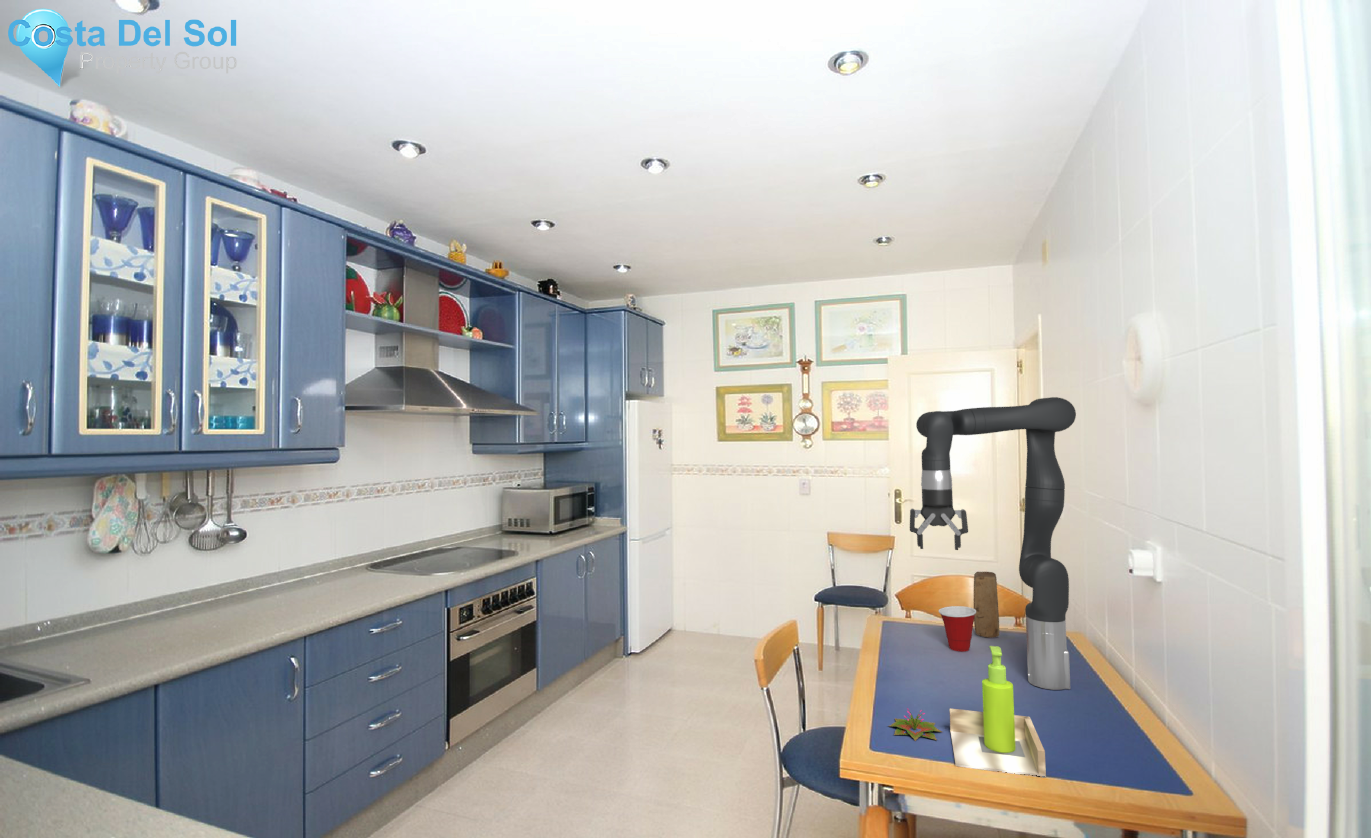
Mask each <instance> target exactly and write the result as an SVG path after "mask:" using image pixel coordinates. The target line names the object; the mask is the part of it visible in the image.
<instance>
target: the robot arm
mask: <svg viewBox="0 0 1371 838" xmlns="http://www.w3.org/2000/svg"><path fill="white" fill-rule="evenodd" d="M1076 414H1077V413H1076V409H1075V406H1074V405H1073V404H1072V402H1070V400H1067V399H1065V398H1063V397H1057V396H1055V397H1054V396H1052V397H1041V398H1036V399H1034V400H1032V401H1031V402H1030V403H1029V404H1023V405H1013V406H1012V405H1011V406H988V407H986V406H983V407H970V408H962V409H958V410H950V411H949V410H946V411H941V410H936V411H934V410H933V411H928V412H924V413H923V414H921V415H920V416H919V417H918V419H917V420H916V430H917V432H918V433H919V434H920V435H921V436H923V437H925V438H926V442H925V443H926V445H925V448H923V450H922V451H921V477H920V478H921V479H920V481H921V482H920V486H921V502H922V503H921V506H922V507H921V509H914V508H910V510H909V532H911V533H914V534H915V535H916V542H917V546H918V548H920V550H924V534H923V532H924V531H925V530H926V529H927V528H928V527H929V526H931V527H938V526H939V527H946V526H948V527H949V528H950V529H951V530H952V531H953V533H954V539H953V540H954V550H955V551H958V550H959V549H960V548H962V544H961V543H962V539H961V536H962V535H964V534H968V533H969V526H968V525H969V523H968V518H967V517H968V516H967V515H968V513H967V511H966V510H965V509H963V508H961V509H954V501H953V478H952V474H951V473H952V472H951V471H952V470H951V455H950V453H951V449H952V444H953V436H973V435H974V436H975V435H984V434H992V433H993V434H994V433H1001V432H1009V431H1016V430H1017V431H1018V430H1025V435H1026V438H1025V439H1026V471H1025V473H1026V474H1025V487H1024V517H1023V519H1024V520H1023V523H1024V524H1023V538H1022V544H1021V552H1020V557H1019V563H1018V564H1019V565H1018V573H1019V574H1018V575H1019V577H1020V579H1021V581H1022V582H1023V583H1024V584H1025V585H1026V586H1028V587H1030V588H1032V599H1031V602H1030V603H1027V604H1026V605H1025V631H1026V632H1025V634H1026V657H1027V658H1026V659H1027V662H1026V663H1027V680H1028V681H1027V682H1028V683H1029V684H1030V685H1032V686H1035V687H1037V688H1041V689H1046V690H1052V691H1053V690H1054V691H1057V690H1071V675H1070V674H1071V673H1070V672H1071V671H1070V668H1071V667H1070V652H1069V650H1068V649H1067V646H1068V645H1067V627H1066V626H1067V625H1066V624H1067V621H1066V620H1067V619H1066V617H1067V611H1068V609H1069V603H1070V601H1069V600H1070V582H1069V581H1070V580H1069V579H1070V578H1069V573H1068V570H1067V568H1066V566H1065V565H1064V563H1062V562H1061V561H1059V560H1057V559H1055V558H1052V552H1051V551H1052V548H1051V547H1052V537H1053V534H1054V531H1055V528H1056V526H1057V525H1058V522H1059V521H1060V519H1061V516H1062V514H1063V512H1064V511H1063V510H1064V507H1065V494H1066V493H1065V492H1066V490H1065V489H1066V488H1065V486H1066V484H1065V479H1064V476H1063V473H1062V470H1061V467H1060V463H1059V461H1058V459H1057V456H1056V451H1055V440H1056V439H1055V437H1056V433H1058V432H1059V433H1060V432H1062V431H1066V430H1067V429H1069V428H1070V427H1071V426H1072V425H1073V424H1074V423H1075V420H1076V418H1077V417H1076V416H1077V415H1076ZM919 515H921V516H922V518H923V519H924V520H923V521H922V523H921V524H920V526H919V527H918V528H917V527H916V526H915V524H916V518H918V517H919ZM956 515H957V517H958V518H959V519H960V522H961V528H958V527H957V525H956V524H955V523H954V522H953V521H952V520H953V519H954V517H955V516H956Z"/></svg>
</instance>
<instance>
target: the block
mask: <svg viewBox="0 0 1371 838" xmlns="http://www.w3.org/2000/svg"><path fill="white" fill-rule="evenodd" d="M973 609H975V610H976V613H975V617H974V622H973V627H974V632H975V633H974V634H975V635H977V636H978V637H982V638H983V637H984V638H990V639H992V638H998V637H999V636H1000V616H999V613H1000V612H999V597H998V582H997V574H996V573H995V572H993V571H975V572H974V574H973Z"/></svg>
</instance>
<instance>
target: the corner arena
mask: <svg viewBox="0 0 1371 838" xmlns="http://www.w3.org/2000/svg"><path fill="white" fill-rule="evenodd" d="M1014 722H1015V747H1016V749H1015V751H1013V752H1010V753H1001V752H996V751H993V750H991V749H989V748H987V747H986V746H985V744H984V719H983V711H979V710H967V709H960V708H959V709H957V708H949V728H950V730H949V731H950V737H951V744H952V745H951V746H952V750H953V751H952V752H953V757H954V758H953V759H954V764H955V767H961V768H968V769H973V770H974V769H976V770H982V771H984V770H985V771H991V772H997V771H1002V772H1001V773H1005V772H1007V773H1006V774H1014V773H1015V774H1014V775H1020V774H1030V775H1037V776H1045V777H1046V778H1047V775H1046V774H1047V773H1046V771H1047V770H1046V750H1045V748H1044V747H1043V746H1044V745H1043V744H1042V742H1041V740H1040V737H1039V734H1038V732H1037V731H1036V728H1035V726H1034V723H1033V721H1032V719H1031V717H1030V716H1028V715H1027V716H1024V715H1016V714H1014Z"/></svg>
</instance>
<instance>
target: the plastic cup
mask: <svg viewBox="0 0 1371 838" xmlns="http://www.w3.org/2000/svg"><path fill="white" fill-rule="evenodd" d="M938 613H939V614H940V616H941V619H942V622H943V626H944V631H945V635H946V638H947V643H948V647H949V649H950V650H951V651H954V652H963V653H964V652H968V651H970V648H971V643H972V638H973V637H972V636H973V628H974V617H975V613H976V610H975V609H974V607H970V606H962V605H956V606H955V605H951V606H945V607H941V608H940V609H938Z"/></svg>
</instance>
